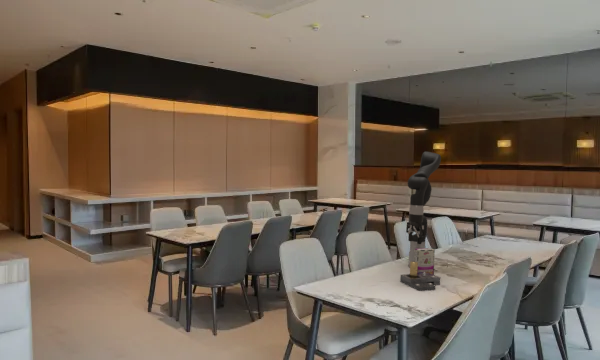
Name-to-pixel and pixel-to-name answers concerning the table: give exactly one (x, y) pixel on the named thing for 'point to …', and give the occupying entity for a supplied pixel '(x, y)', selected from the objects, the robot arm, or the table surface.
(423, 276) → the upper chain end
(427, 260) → the candy bar box
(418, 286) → the lower chain end
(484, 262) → the table surface
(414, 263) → the brass pin
